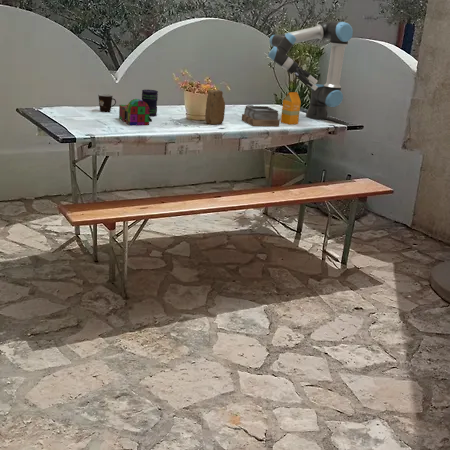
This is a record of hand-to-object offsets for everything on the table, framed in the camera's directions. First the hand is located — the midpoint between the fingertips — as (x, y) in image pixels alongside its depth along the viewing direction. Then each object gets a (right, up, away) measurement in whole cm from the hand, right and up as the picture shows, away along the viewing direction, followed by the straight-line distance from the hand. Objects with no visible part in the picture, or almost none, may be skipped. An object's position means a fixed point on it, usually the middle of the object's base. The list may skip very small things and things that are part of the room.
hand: (316, 85), depth 381 cm
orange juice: (-17, -23, +9) cm, 29 cm away
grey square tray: (-36, -24, -1) cm, 44 cm away
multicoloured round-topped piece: (-111, -28, -28) cm, 118 cm away
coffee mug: (-132, -19, -11) cm, 134 cm away
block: (-65, -27, -15) cm, 72 cm away
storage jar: (-106, -20, -8) cm, 108 cm away
